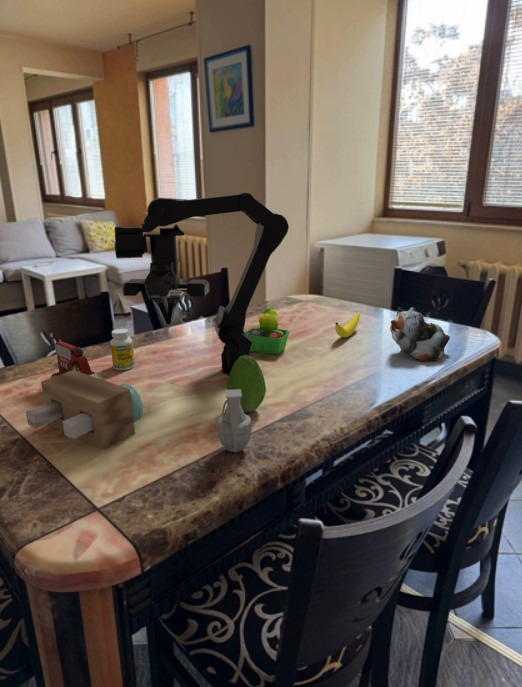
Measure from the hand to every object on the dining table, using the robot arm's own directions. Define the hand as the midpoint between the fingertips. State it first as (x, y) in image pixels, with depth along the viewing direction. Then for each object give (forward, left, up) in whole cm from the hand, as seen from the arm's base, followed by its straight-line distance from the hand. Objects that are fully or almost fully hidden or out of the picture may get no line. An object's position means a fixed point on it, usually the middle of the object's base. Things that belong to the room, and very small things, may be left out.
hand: (169, 324), depth 115 cm
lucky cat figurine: (-61, -19, -13) cm, 66 cm away
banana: (-44, -35, -13) cm, 58 cm away
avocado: (-20, +17, -13) cm, 29 cm away
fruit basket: (-21, -21, -13) cm, 33 cm away
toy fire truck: (+20, +9, -13) cm, 26 cm away
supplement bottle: (+14, -5, -13) cm, 20 cm away
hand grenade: (-20, +33, -13) cm, 41 cm away
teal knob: (+5, +30, -13) cm, 33 cm away
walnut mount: (+9, +28, -13) cm, 32 cm away
